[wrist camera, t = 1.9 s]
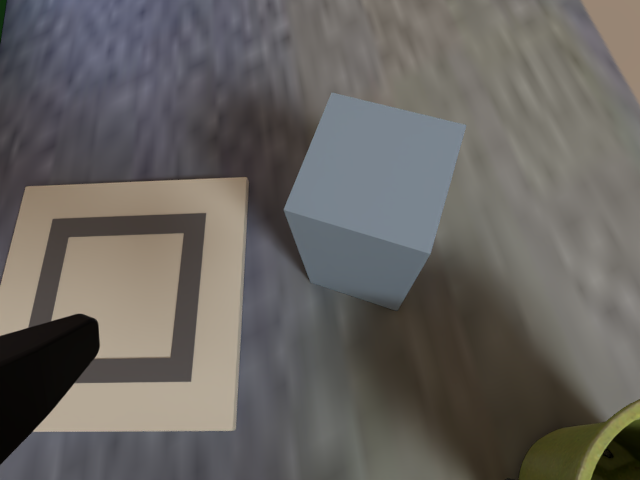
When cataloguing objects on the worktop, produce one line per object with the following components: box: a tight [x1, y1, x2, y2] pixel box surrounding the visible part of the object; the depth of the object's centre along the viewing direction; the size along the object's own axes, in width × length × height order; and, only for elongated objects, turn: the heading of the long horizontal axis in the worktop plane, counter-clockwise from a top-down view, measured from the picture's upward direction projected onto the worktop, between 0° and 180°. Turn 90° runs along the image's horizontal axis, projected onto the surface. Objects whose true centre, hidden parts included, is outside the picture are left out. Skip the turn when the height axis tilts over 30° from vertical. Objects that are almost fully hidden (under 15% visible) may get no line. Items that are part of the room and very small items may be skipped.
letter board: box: [0, 177, 249, 432], centre depth 24 cm, size 14×14×1 cm
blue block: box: [284, 93, 466, 311], centre depth 19 cm, size 5×5×10 cm
